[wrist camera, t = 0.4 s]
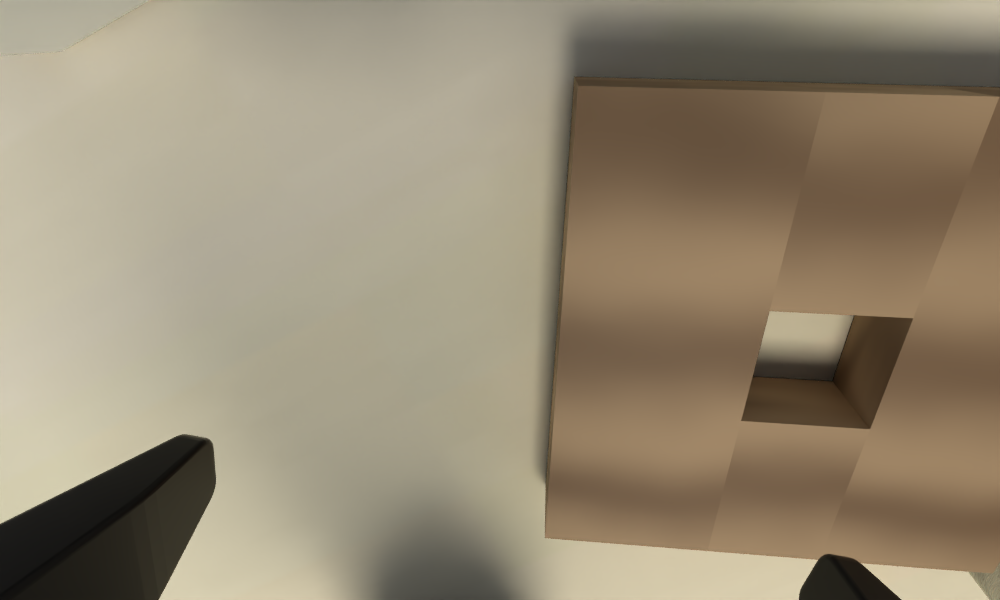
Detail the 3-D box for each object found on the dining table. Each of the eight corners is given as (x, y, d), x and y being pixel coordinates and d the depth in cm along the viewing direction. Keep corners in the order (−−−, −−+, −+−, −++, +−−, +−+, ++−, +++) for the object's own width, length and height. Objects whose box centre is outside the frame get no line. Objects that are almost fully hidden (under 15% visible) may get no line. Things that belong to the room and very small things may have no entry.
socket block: (946, 515, 25) (992, 573, 23) (545, 485, 26) (545, 537, 24) (1161, 91, 17) (1272, 103, 15) (574, 76, 19) (578, 86, 16)
